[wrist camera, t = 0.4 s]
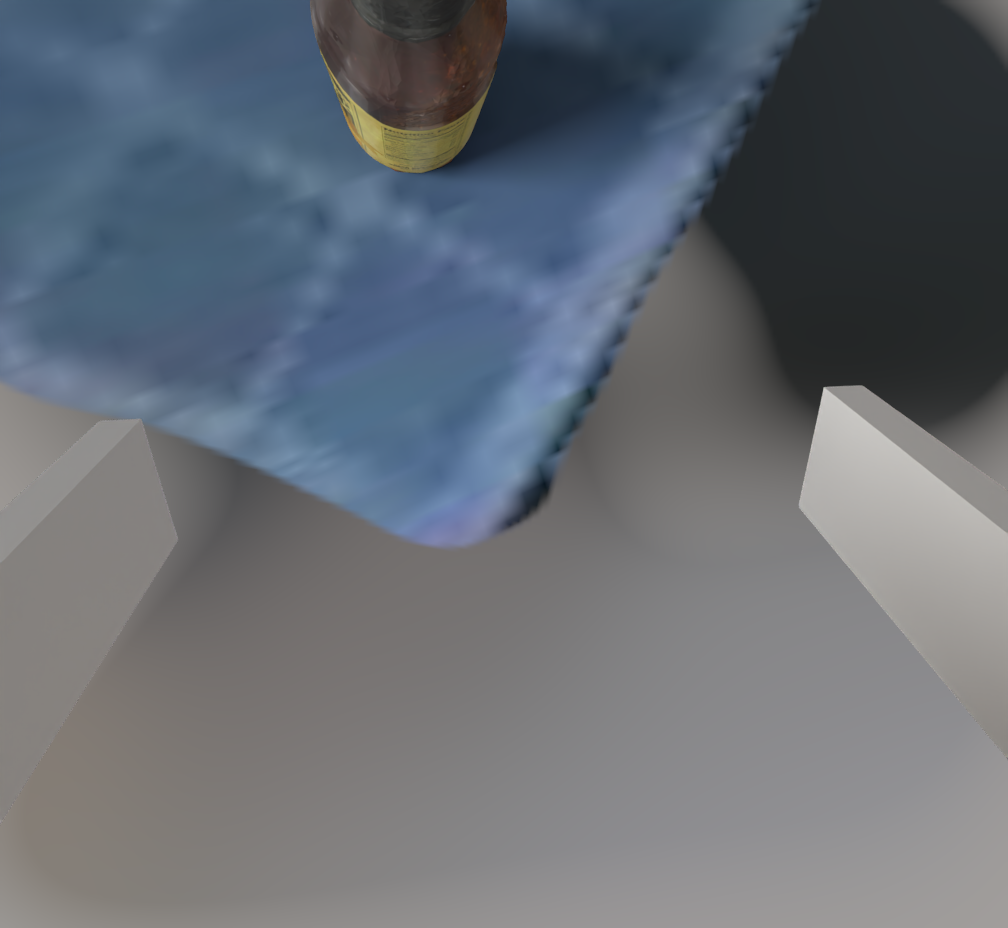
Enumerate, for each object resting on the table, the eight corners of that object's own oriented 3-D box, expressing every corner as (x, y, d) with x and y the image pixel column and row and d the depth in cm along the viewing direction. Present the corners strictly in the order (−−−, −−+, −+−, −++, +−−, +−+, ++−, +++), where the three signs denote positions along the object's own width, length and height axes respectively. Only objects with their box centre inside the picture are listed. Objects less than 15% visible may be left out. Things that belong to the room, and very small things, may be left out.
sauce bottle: (360, 23, 32) (288, -419, 13) (488, 65, 33) (597, -285, 14) (332, 166, 33) (227, -46, 14) (457, 202, 34) (518, 52, 15)
